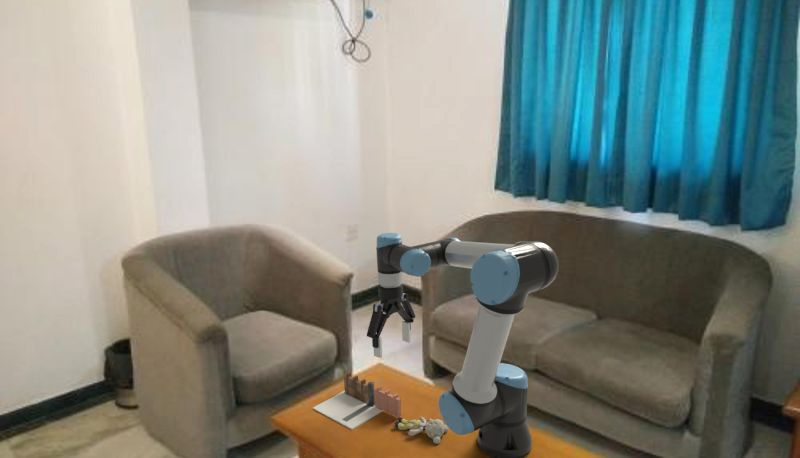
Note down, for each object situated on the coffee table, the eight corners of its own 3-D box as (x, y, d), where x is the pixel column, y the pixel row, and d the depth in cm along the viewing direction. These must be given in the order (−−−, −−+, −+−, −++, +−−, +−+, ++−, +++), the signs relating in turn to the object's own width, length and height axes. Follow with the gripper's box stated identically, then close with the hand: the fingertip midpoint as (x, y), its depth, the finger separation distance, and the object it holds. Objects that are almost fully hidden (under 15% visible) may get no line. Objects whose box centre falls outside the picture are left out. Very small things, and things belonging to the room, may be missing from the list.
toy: (402, 406, 180) (448, 413, 173) (405, 423, 181) (450, 430, 175) (389, 421, 173) (437, 428, 166) (392, 438, 174) (439, 446, 167)
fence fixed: (376, 405, 188) (375, 383, 186) (371, 407, 187) (371, 385, 185) (348, 391, 197) (347, 370, 195) (343, 394, 195) (342, 372, 193)
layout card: (392, 404, 188) (392, 403, 188) (352, 429, 175) (352, 428, 175) (353, 386, 200) (353, 385, 200) (312, 408, 187) (312, 407, 187)
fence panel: (374, 406, 186) (374, 386, 185) (377, 404, 187) (377, 384, 186) (398, 417, 180) (397, 397, 178) (401, 415, 181) (400, 395, 179)
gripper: (406, 271, 190) (408, 332, 195) (352, 293, 172) (356, 360, 177) (425, 275, 185) (426, 338, 190) (371, 298, 167) (374, 366, 172)
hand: (392, 348), depth 183 cm, fingers open, 13 cm apart
